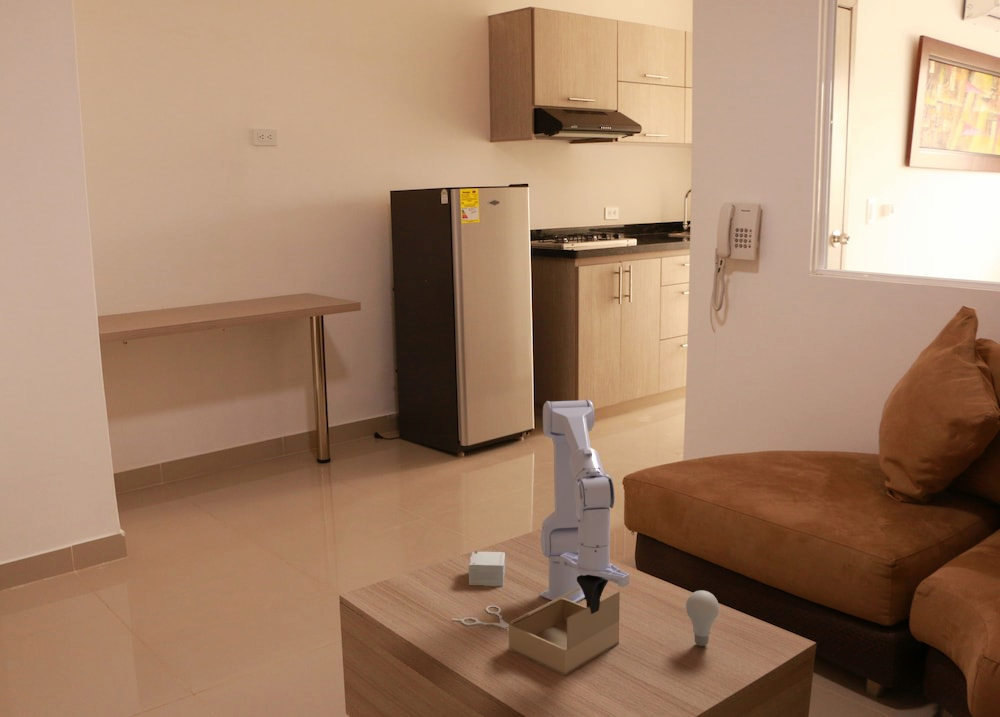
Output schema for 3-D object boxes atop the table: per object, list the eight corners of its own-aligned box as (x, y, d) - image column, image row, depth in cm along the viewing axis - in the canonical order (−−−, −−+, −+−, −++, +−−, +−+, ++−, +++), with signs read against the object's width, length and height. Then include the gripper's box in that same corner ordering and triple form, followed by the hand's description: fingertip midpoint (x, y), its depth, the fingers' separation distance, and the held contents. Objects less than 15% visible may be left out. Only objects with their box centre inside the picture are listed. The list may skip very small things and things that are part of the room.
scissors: (487, 601, 191) (559, 631, 177) (487, 605, 191) (559, 635, 177) (450, 619, 183) (523, 651, 169) (451, 622, 183) (523, 655, 170)
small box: (503, 587, 199) (503, 565, 198) (468, 586, 199) (467, 564, 198) (505, 572, 206) (505, 551, 205) (471, 571, 207) (471, 550, 206)
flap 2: (617, 590, 170) (619, 591, 170) (617, 620, 171) (619, 620, 171) (566, 617, 160) (568, 618, 159) (566, 649, 161) (568, 649, 161)
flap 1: (561, 598, 181) (560, 596, 181) (580, 589, 177) (579, 587, 177) (510, 624, 170) (509, 622, 171) (529, 615, 166) (528, 613, 167)
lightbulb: (678, 641, 173) (679, 588, 171) (704, 635, 175) (706, 582, 173) (697, 656, 167) (699, 601, 165) (724, 649, 170) (726, 595, 168)
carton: (563, 620, 182) (563, 597, 181) (618, 643, 173) (619, 619, 172) (508, 649, 171) (508, 625, 170) (565, 676, 161) (565, 650, 160)
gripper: (549, 537, 165) (549, 606, 167) (612, 558, 155) (611, 632, 157) (573, 527, 170) (573, 594, 172) (636, 547, 160) (635, 618, 162)
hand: (593, 611), depth 165 cm, fingers closed, pressing on flap 2
